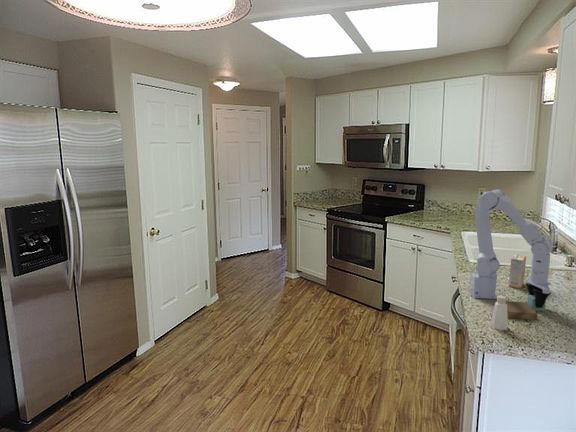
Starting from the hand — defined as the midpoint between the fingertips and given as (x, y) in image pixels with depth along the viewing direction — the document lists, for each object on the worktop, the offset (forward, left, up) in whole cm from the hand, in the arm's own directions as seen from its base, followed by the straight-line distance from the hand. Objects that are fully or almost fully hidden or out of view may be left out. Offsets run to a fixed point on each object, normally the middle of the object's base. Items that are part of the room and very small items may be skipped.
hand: (536, 304), depth 154 cm
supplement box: (+2, +26, -2) cm, 26 cm away
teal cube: (0, 0, -1) cm, 1 cm away
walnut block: (-9, -6, -1) cm, 11 cm away
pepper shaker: (-19, -19, -2) cm, 27 cm away
